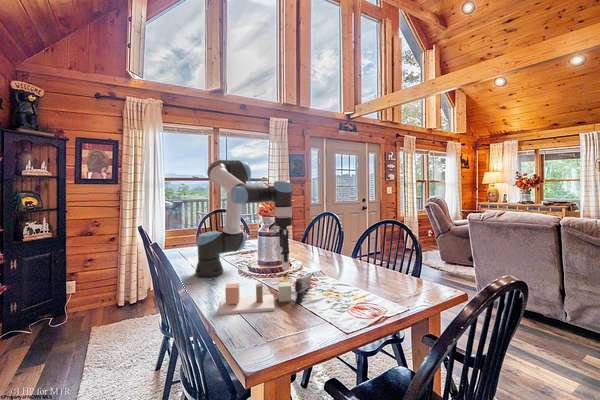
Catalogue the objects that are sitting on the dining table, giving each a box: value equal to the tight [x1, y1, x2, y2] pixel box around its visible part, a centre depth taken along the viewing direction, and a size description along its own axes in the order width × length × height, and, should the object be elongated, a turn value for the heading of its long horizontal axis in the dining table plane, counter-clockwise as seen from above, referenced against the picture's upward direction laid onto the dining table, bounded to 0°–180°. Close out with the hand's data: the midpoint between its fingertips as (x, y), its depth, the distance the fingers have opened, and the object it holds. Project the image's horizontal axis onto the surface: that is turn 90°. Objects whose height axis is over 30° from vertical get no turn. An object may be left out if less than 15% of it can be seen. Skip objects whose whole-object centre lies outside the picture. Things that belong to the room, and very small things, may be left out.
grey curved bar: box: [294, 274, 312, 304], centre depth 136 cm, size 2×25×10 cm, turn 167°
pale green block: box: [277, 281, 292, 302], centre depth 132 cm, size 5×5×7 cm
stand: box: [218, 282, 276, 315], centre depth 126 cm, size 14×22×9 cm, turn 98°
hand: (284, 265), depth 131 cm, fingers open, 13 cm apart
